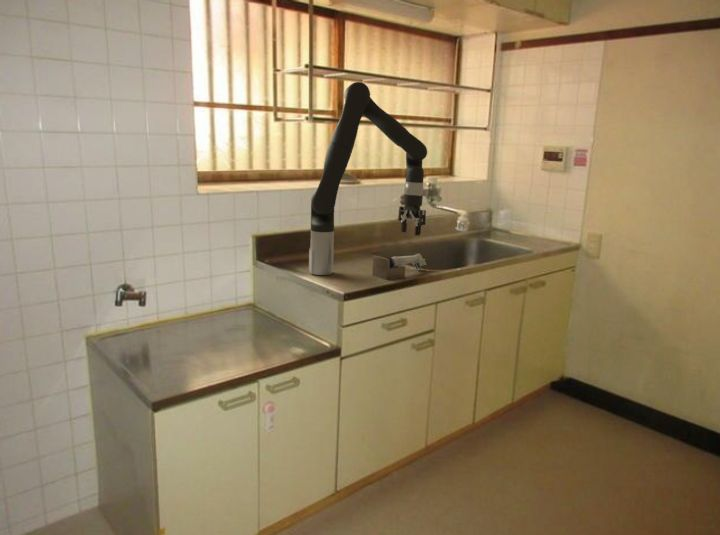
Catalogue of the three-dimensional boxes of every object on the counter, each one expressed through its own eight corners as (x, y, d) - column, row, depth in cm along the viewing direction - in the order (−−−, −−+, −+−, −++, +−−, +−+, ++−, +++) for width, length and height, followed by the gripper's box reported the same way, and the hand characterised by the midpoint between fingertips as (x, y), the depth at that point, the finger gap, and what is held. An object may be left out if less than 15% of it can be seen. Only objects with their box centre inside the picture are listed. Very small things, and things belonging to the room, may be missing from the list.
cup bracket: (386, 280, 208) (387, 259, 207) (372, 274, 216) (373, 255, 214) (404, 277, 214) (405, 258, 212) (390, 272, 221) (391, 253, 219)
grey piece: (383, 260, 212) (413, 254, 232) (389, 275, 211) (419, 268, 231) (393, 255, 209) (423, 249, 229) (399, 270, 208) (429, 263, 228)
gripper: (395, 191, 217) (392, 231, 221) (418, 195, 206) (414, 236, 209) (409, 192, 221) (406, 230, 225) (432, 195, 210) (429, 236, 213)
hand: (410, 233), depth 217 cm, fingers open, 8 cm apart
